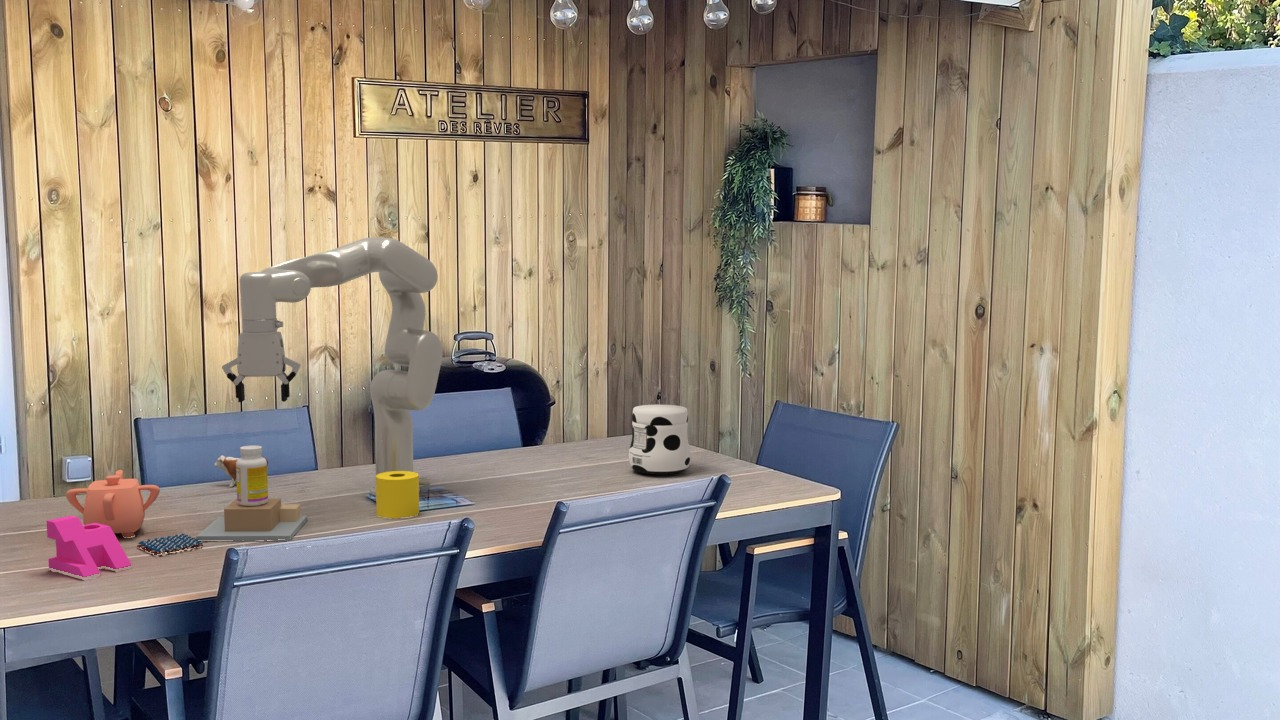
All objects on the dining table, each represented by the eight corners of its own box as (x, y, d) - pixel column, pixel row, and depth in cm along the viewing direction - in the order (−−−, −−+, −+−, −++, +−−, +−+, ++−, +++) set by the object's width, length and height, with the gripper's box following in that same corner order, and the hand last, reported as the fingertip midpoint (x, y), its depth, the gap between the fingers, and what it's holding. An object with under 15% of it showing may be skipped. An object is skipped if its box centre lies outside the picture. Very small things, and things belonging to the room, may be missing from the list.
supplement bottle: (274, 501, 274) (273, 445, 272) (256, 508, 267) (254, 450, 266) (249, 499, 276) (247, 443, 274) (230, 505, 270) (229, 448, 268)
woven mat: (134, 550, 258) (134, 541, 257) (183, 541, 265) (183, 532, 265) (155, 560, 250) (155, 550, 250) (205, 550, 258) (204, 541, 257)
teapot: (110, 546, 258) (108, 486, 257) (59, 537, 265) (56, 478, 264) (171, 529, 273) (169, 472, 272) (122, 521, 280) (119, 465, 279)
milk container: (694, 467, 346) (695, 404, 344) (685, 479, 329) (686, 414, 327) (634, 464, 349) (635, 402, 347) (623, 477, 332) (623, 412, 330)
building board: (307, 520, 282) (306, 494, 281) (289, 541, 264) (289, 513, 263) (220, 521, 281) (219, 494, 280) (196, 541, 263) (195, 513, 262)
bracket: (48, 571, 241) (46, 520, 240) (96, 559, 249) (94, 510, 248) (84, 581, 234) (81, 529, 233) (132, 568, 243) (129, 518, 241)
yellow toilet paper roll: (419, 508, 295) (418, 470, 293) (419, 518, 285) (418, 479, 284) (377, 509, 293) (376, 471, 292) (375, 519, 283) (374, 480, 282)
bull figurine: (215, 485, 318) (214, 454, 317) (268, 482, 323) (267, 451, 322) (214, 488, 314) (213, 457, 313) (268, 485, 318) (268, 454, 317)
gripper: (301, 324, 279) (304, 397, 282) (224, 325, 278) (228, 399, 280) (295, 327, 272) (298, 403, 274) (216, 329, 271) (220, 404, 273)
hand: (263, 401), depth 277 cm, fingers open, 9 cm apart
